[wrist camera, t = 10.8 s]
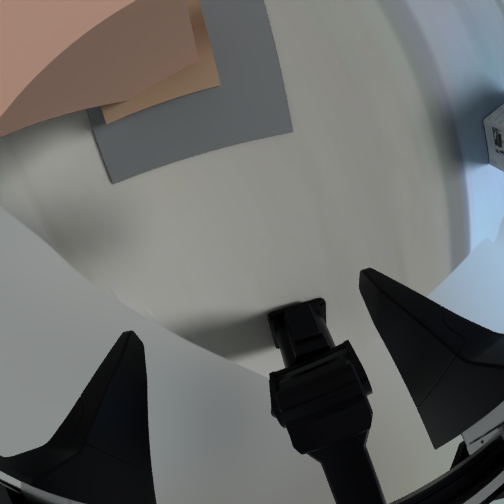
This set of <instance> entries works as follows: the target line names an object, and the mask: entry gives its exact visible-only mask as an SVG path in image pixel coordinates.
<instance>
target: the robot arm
mask: <svg viewBox="0 0 504 504" xmlns="http://www.w3.org/2000/svg"><path fill="white" fill-rule="evenodd" d="M359 290H360V293H361V295H362V297H363V299H364V302H365V304H366V306H367V309H368V311H369V313H370V316H371V318H372V321H373V323H374V325H375V327H376V329H377V330H378V332H379V334H380V336H381V338H382V340H383V341H384V343H385V345H386V347H387V349H388V351H389V353H390V354H391V356H392V358H393V360H394V362H395V364H396V366H397V368H398V370H399V372H400V374H401V376H402V378H403V380H404V382H405V384H406V386H407V388H408V390H409V392H410V395H411V397H412V399H413V401H414V403H415V405H416V407H417V410H418V412H419V414H420V416H421V419H422V421H423V423H424V425H425V428H426V430H427V432H428V435H429V437H430V440H431V442H432V444H433V447H434V448H435V449H437V448H439V447H440V446H442V445H444V444H446V443H447V442H449V441H451V440H452V439H454V438H455V437H457V436H458V435H460V434H461V435H462V437H463V439H464V441H463V442H461V443H460V444H459V446H458V449H457V452H456V455H455V458H454V460H453V463H452V466H451V468H450V470H449V471H448V472H446V473H445V474H443V475H441V476H440V477H438V478H437V479H435V480H433V481H432V482H430V483H428V484H427V485H425V486H423V487H421V488H419V489H418V490H416V491H414V492H412V493H410V494H408V495H406V496H405V497H402V498H400V499H398V500H396V501H394V502H392V503H390V504H489V503H490V502H492V501H493V500H498V499H502V498H504V334H501V333H496V332H493V331H491V330H489V329H487V328H485V327H482V326H480V325H478V324H476V323H474V322H471V321H469V320H467V319H465V318H463V317H461V316H459V315H457V314H455V313H453V312H452V311H450V310H448V309H446V308H444V307H443V306H440V305H439V304H437V303H435V302H434V301H432V300H430V299H428V298H426V297H425V296H423V295H421V294H419V293H417V292H416V291H414V290H412V289H410V288H408V287H406V286H405V285H403V284H401V283H399V282H397V281H395V280H393V279H391V278H390V277H388V276H386V275H384V274H382V273H380V272H378V271H376V270H374V269H372V268H366V269H363V270H361V271H360V278H359ZM268 320H269V324H270V328H271V332H272V336H273V339H274V343H275V347H276V348H278V349H279V348H280V351H281V354H282V358H283V361H284V365H285V368H284V369H282V370H279V371H276V372H271V373H269V376H270V380H269V385H270V397H271V414H272V416H273V417H275V418H277V419H278V421H279V423H280V425H281V426H282V427H284V428H287V430H288V433H289V435H290V438H291V441H292V444H293V447H294V448H295V449H296V450H297V451H298V452H299V453H300V454H306V453H307V454H308V455H309V456H311V457H312V458H314V459H316V460H317V461H319V462H320V463H321V465H322V467H323V470H324V472H325V475H326V478H327V481H328V483H329V486H330V489H331V491H332V494H333V496H334V499H335V502H336V504H387V503H386V500H385V497H384V495H383V492H382V489H381V486H380V483H379V480H378V478H377V475H376V472H375V469H374V466H373V464H372V461H371V458H370V456H369V453H368V450H367V448H366V442H367V438H368V434H369V430H370V427H371V422H372V416H373V412H372V409H371V406H370V404H369V401H368V399H367V395H370V394H371V393H372V388H371V385H370V382H369V380H368V377H367V375H366V373H365V370H364V368H363V366H362V364H361V362H360V361H359V359H358V357H357V355H356V353H355V351H354V349H353V348H352V346H351V344H350V342H349V340H346V341H344V343H342V344H340V345H338V346H335V344H334V341H333V339H332V337H331V335H330V333H329V330H328V328H327V326H326V302H325V300H324V299H323V298H321V299H317V300H314V301H311V302H307V303H304V304H300V305H297V306H294V307H290V308H287V309H283V310H279V311H276V312H272V313H270V314H268ZM147 405H148V402H147V373H146V363H145V352H144V345H143V343H142V341H141V340H140V339H139V337H138V336H137V335H136V334H135V332H134V331H126V332H123V333H122V335H121V336H120V337H119V339H118V340H117V342H116V343H115V345H114V346H113V347H112V349H111V350H110V352H109V353H108V355H107V356H106V358H105V359H104V361H103V362H102V363H101V365H100V367H99V368H98V370H97V371H96V373H95V374H94V376H93V377H92V379H91V380H90V382H89V383H88V385H87V386H86V388H85V390H84V391H83V393H82V394H81V397H79V399H78V400H77V402H76V404H75V405H74V407H73V408H72V410H71V411H70V413H69V414H68V416H67V417H66V419H65V420H64V422H63V423H62V424H61V426H60V427H59V428H58V430H57V431H56V432H55V434H54V435H53V437H52V438H51V439H50V441H48V442H47V443H46V444H45V445H43V446H41V447H39V448H36V449H33V450H30V451H27V452H24V453H21V454H18V455H15V456H11V457H2V456H0V471H2V472H4V473H6V474H7V475H9V476H11V477H13V478H15V479H17V480H19V481H21V488H19V487H17V486H14V485H12V484H10V483H8V482H6V481H4V480H2V479H0V504H156V498H155V491H154V483H153V476H152V472H151V471H152V467H151V457H150V444H149V428H148V406H147Z"/></svg>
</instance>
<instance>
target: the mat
mask: <svg viewBox="0 0 504 504" xmlns="http://www.w3.org/2000/svg"><path fill="white" fill-rule="evenodd" d="M199 3H200V6H201V10H202V14H203V18H204V22H205V25H206V29H207V33H208V37H209V41H210V45H211V48H212V52H213V56H214V60H215V64H216V68H217V72H218V76H219V80H220V84H221V85H220V86H218V87H215V88H211V89H207V90H203V91H199V92H196V93H192V94H189V95H186V96H182V97H179V98H176V99H173V100H170V101H167V102H164V103H161V104H158V105H155V106H153V107H150V108H147V109H144V110H142V111H139V112H137V113H134V114H132V115H129V116H127V117H124V118H122V119H119V120H117V121H114V122H112V123H109V124H106V121H105V118H104V115H103V112H102V109H101V106H97V107H93V108H88V109H87V113H88V116H89V119H90V122H91V125H92V128H93V131H94V134H95V137H96V140H97V143H98V145H99V148H100V151H101V154H102V156H103V159H104V162H105V164H106V167H107V169H108V172H109V175H110V177H111V180H112V182H113V184H115V183H117V182H120V181H123V180H125V179H128V178H130V177H133V176H136V175H138V174H141V173H144V172H147V171H149V170H152V169H155V168H158V167H161V166H164V165H167V164H170V163H173V162H176V161H179V160H182V159H186V158H189V157H192V156H196V155H199V154H202V153H206V152H209V151H213V150H217V149H220V148H224V147H228V146H232V145H236V144H240V143H244V142H248V141H252V140H257V139H261V138H266V137H270V136H275V135H280V134H285V133H291V132H293V129H292V123H291V118H290V113H289V107H288V102H287V97H286V92H285V87H284V82H283V78H282V73H281V68H280V64H279V59H278V55H277V51H276V46H275V42H274V38H273V34H272V30H271V26H270V22H269V18H268V15H267V11H266V7H265V4H264V0H199Z"/></svg>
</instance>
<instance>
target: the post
mask: <svg viewBox="0 0 504 504" xmlns="http://www.w3.org/2000/svg"><path fill="white" fill-rule="evenodd" d="M198 61H199V57H198V52H197V48H196V43H195V39H194V34H193V30H192V25H191V21H190V16H189V12H188V7H187V3H186V0H0V137H2V136H5V135H7V134H10V133H12V132H15V131H17V130H20V129H22V128H25V127H28V126H31V125H33V124H36V123H39V122H42V121H45V120H48V119H51V118H55V117H58V116H62V115H65V114H69V113H72V112H76V111H80V110H84V109H88V108H93V107H97V106H102V105H106V104H111V103H117V102H122V101H128V100H131V99H132V98H134V97H135V96H137V95H138V94H140V93H142V92H143V91H145V90H146V89H148V88H150V87H151V86H153V85H155V84H156V83H158V82H160V81H162V80H163V79H165V78H167V77H169V76H171V75H172V74H174V73H176V72H178V71H180V70H182V69H184V68H186V67H188V66H190V65H192V64H194V63H196V62H198Z"/></svg>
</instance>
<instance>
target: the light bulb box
mask: <svg viewBox="0 0 504 504" xmlns="http://www.w3.org/2000/svg"><path fill="white" fill-rule="evenodd" d="M483 123H484V128H485V133H486V139H487V146H488V153H489V162H490V165H492V166H494V167H496V168H498V169H500V170H502V171H503V172H504V104H503V105H501V106H500V107H499V108H498V109H496V110H495V111H494V112H493V113H491V114H490V115H489V116H488V117H486V118H485V119H484V120H483Z"/></svg>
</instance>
